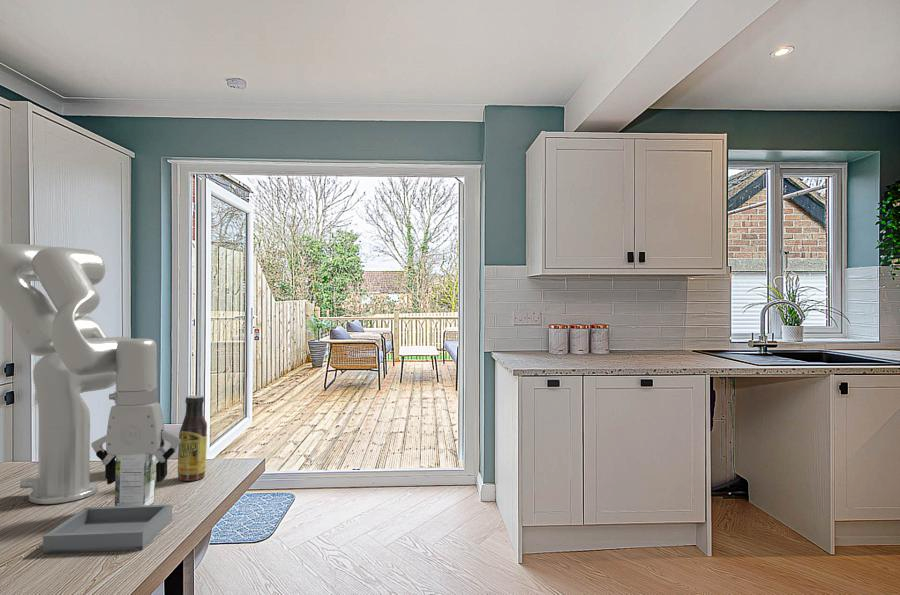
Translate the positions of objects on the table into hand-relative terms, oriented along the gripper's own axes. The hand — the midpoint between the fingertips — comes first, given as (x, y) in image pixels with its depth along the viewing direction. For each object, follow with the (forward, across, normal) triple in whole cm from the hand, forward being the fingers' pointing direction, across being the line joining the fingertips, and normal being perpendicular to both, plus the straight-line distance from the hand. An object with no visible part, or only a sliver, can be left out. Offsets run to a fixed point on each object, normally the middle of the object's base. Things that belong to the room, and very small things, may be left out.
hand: (136, 481), depth 121 cm
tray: (+6, +2, -15) cm, 16 cm away
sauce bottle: (+6, +5, +20) cm, 21 cm away
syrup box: (+6, 0, 0) cm, 6 cm away
